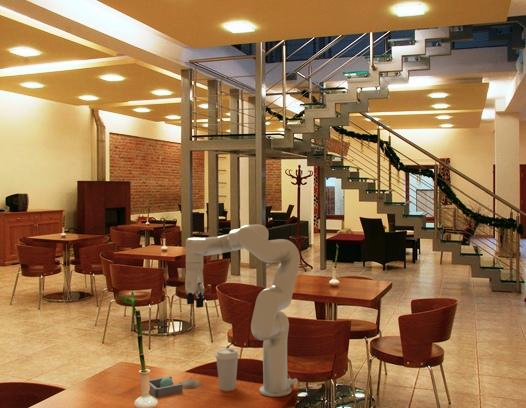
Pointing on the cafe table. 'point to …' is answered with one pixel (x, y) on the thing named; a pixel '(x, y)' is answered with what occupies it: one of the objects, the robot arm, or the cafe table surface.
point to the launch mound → (190, 384)
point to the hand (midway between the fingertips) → (195, 305)
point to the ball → (166, 382)
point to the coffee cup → (227, 368)
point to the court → (163, 388)
